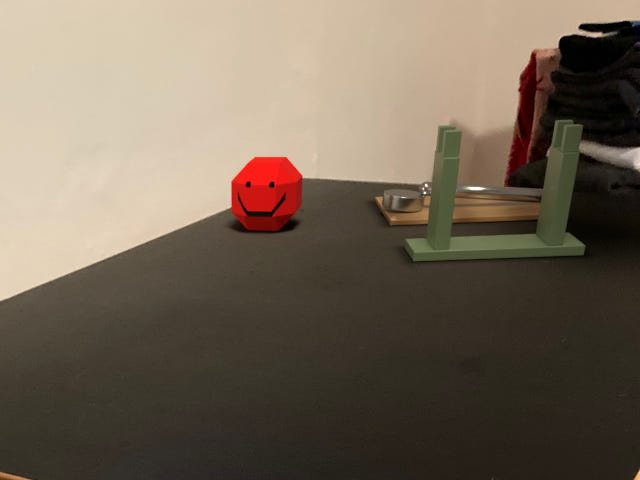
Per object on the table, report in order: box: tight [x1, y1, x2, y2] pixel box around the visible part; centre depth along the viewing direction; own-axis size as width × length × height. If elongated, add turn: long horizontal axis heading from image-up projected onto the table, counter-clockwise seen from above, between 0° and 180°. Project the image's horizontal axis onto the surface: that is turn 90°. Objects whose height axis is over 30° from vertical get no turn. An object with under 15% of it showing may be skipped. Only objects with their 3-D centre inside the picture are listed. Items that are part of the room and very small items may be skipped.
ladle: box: [382, 181, 543, 212], centre depth 123 cm, size 22×5×3 cm, turn 87°
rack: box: [404, 119, 586, 263], centre depth 104 cm, size 18×6×12 cm, turn 87°
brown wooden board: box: [374, 196, 541, 226], centre depth 125 cm, size 20×14×1 cm
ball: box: [230, 156, 304, 232], centre depth 120 cm, size 8×8×8 cm
